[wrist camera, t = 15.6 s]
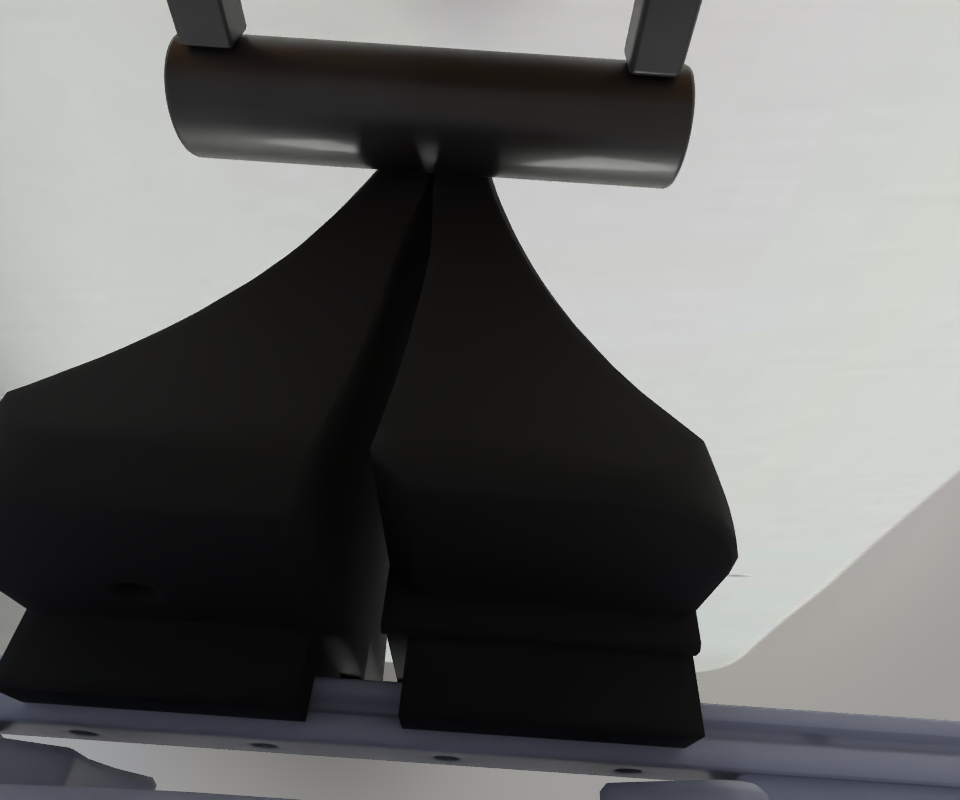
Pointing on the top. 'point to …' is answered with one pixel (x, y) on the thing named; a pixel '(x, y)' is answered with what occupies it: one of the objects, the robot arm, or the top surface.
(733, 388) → the top surface
